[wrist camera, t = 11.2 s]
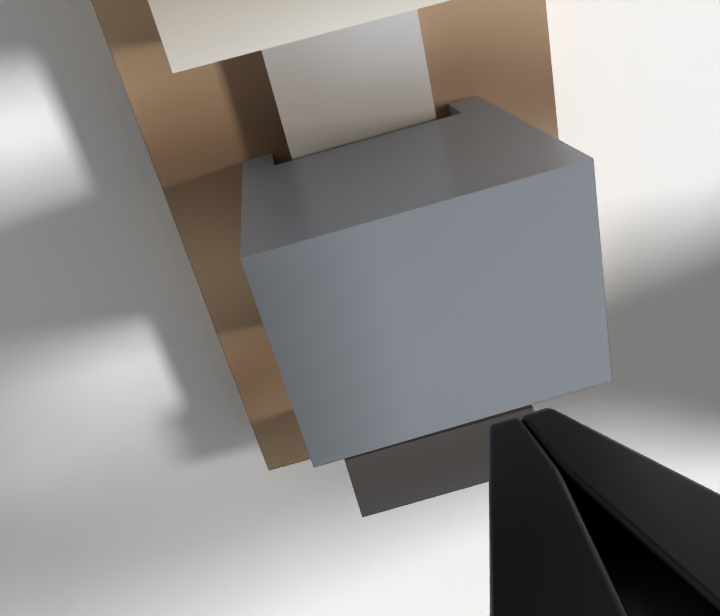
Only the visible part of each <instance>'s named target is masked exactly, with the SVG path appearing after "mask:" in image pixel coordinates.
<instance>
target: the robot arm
mask: <svg viewBox="0 0 720 616" xmlns="http://www.w3.org/2000/svg"><path fill="white" fill-rule="evenodd" d="M489 550H490V616H720V494H718V493H716V492H714V491H712V490H710V489H708V488H706V487H704V486H702V485H700V484H699V483H697V482H695V481H693V480H691V479H689V478H687V477H685V476H683V475H681V474H679V473H677V472H675V471H673V470H671V469H669V468H667V467H665V466H663V465H661V464H659V463H657V462H656V461H654V460H652V459H650V458H648V457H646V456H644V455H642V454H640V453H638V452H636V451H634V450H632V449H630V448H628V447H626V446H624V445H622V444H620V443H618V442H616V441H614V440H612V439H611V438H609V437H607V436H605V435H603V434H601V433H599V432H597V431H595V430H593V429H591V428H589V427H587V426H585V425H583V424H581V423H579V422H577V421H575V420H573V419H571V418H569V417H567V416H566V415H564V414H562V413H560V412H558V411H556V410H554V409H550V408H546V409H542V410H538V411H535V412H531V413H528V414H525V415H523V416H522V417H521V419H519V418H516V417H515V418H510V419H507V420H503V421H500V422H496V423H493V424H491V425H490V427H489Z"/></svg>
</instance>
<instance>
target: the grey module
mask: <svg viewBox="0 0 720 616" xmlns="http://www.w3.org/2000/svg"><path fill="white" fill-rule="evenodd" d="M448 106H449V111H450V116H449V117H446V118H442V119H439V120H435V121H431V122H428V123H424V124H421V125H417V126H414V127H410V128H406V129H403V130H399V131H396V132H392V133H389V134H385V135H381V136H378V137H374V138H371V139H367V140H364V141H360V142H356V143H353V144H349V145H346V146H342V147H339V148H335V149H331V150H328V151H324V152H321V153H317V154H314V155H310V156H307V157H303V158H299V159H296V160H292V161H289V162H285V163H282V164H278V165H275V161H274V158H273V155H272V154H268V155H265V156H261V157H257V158H254V159H250V160H247V161H243V162H242V203H241V244H240V260H241V262H242V265H243V268H244V271H245V274H246V277H247V279H248V282H249V285H250V288H251V291H252V294H253V296H254V299H255V302H256V305H257V308H258V311H259V313H260V316H261V319H262V322H263V325H264V328H265V331H266V333H267V336H268V339H269V342H270V345H271V348H272V350H273V353H274V356H275V359H276V362H277V365H278V367H279V370H280V373H281V376H282V379H283V382H284V384H285V387H286V390H287V393H288V396H289V399H290V401H291V404H292V407H293V410H294V413H295V416H296V418H297V421H298V424H299V427H300V430H301V433H302V435H303V438H304V441H305V444H306V447H307V450H308V453H309V455H310V458H311V461H312V464H313V467H318V466H321V465H324V464H328V463H331V462H335V461H338V460H342V459H345V458H348V457H352V456H355V455H359V454H362V453H366V452H369V451H373V450H376V449H379V448H383V447H386V446H390V445H393V444H397V443H400V442H403V441H407V440H410V439H414V438H417V437H421V436H424V435H427V434H431V433H434V432H438V431H441V430H445V429H448V428H451V427H455V426H458V425H462V424H465V423H469V422H472V421H476V420H479V419H482V418H486V417H489V416H493V415H496V414H500V413H503V412H506V411H510V410H513V409H517V408H520V407H524V406H527V405H530V404H534V403H537V402H541V401H544V400H548V399H551V398H554V397H558V396H561V395H565V394H568V393H572V392H575V391H578V390H582V389H585V388H589V387H592V386H596V385H599V384H603V383H606V382H609V381H612V377H611V365H610V353H609V340H608V328H607V316H606V304H605V292H604V280H603V268H602V256H601V244H600V232H599V220H598V208H597V196H596V184H595V172H594V160H593V158H591V157H590V156H588V155H586V154H584V153H582V152H580V151H578V150H577V149H575V148H573V147H571V146H569V145H567V144H565V143H564V142H562V141H560V140H558V139H556V138H554V137H552V136H551V135H549V134H547V133H545V132H543V131H541V130H540V129H538V128H536V127H534V126H532V125H530V124H528V123H527V122H525V121H523V120H521V119H519V118H517V117H515V116H514V115H512V114H510V113H508V112H506V111H504V110H502V109H501V108H499V107H497V106H495V105H493V104H491V103H489V102H488V101H486V100H484V99H482V98H480V97H478V96H475V97H472V98H468V99H465V100H461V101H458V102H454V103H450V104H448Z"/></svg>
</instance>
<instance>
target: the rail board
mask: <svg viewBox="0 0 720 616" xmlns="http://www.w3.org/2000/svg"><path fill="white" fill-rule="evenodd" d="M91 1H92V3H93V6H94V9H95V11H96V14H97V17H98V19H99V22H100V25H101V27H102V30H103V33H104V35H105V38H106V40H107V43H108V46H109V48H110V51H111V54H112V56H113V59H114V62H115V64H116V67H117V70H118V72H119V75H120V78H121V80H122V83H123V85H124V88H125V91H126V93H127V96H128V99H129V101H130V104H131V107H132V109H133V112H134V115H135V117H136V120H137V123H138V125H139V128H140V131H141V133H142V136H143V138H144V141H145V144H146V146H147V149H148V152H149V154H150V157H151V160H152V162H153V165H154V168H155V170H156V173H157V176H158V178H159V181H160V184H161V186H162V189H163V191H164V194H165V197H166V199H167V202H168V205H169V207H170V210H171V213H172V215H173V218H174V221H175V223H176V226H177V229H178V231H179V234H180V236H181V239H182V242H183V244H184V247H185V250H186V252H187V255H188V258H189V260H190V263H191V266H192V268H193V271H194V274H195V276H196V279H197V282H198V284H199V287H200V289H201V292H202V295H203V297H204V300H205V303H206V305H207V308H208V311H209V313H210V316H211V319H212V321H213V324H214V327H215V329H216V332H217V335H218V337H219V340H220V342H221V345H222V348H223V350H224V353H225V356H226V358H227V361H228V364H229V366H230V369H231V372H232V374H233V377H234V380H235V382H236V385H237V387H238V390H239V393H240V395H241V398H242V401H243V403H244V406H245V409H246V411H247V414H248V417H249V419H250V422H251V425H252V427H253V430H254V433H255V435H256V438H257V440H258V443H259V446H260V448H261V451H262V454H263V456H264V459H265V462H266V464H267V467H268V470H273V469H276V468H280V467H283V466H287V465H290V464H294V463H298V462H301V461H305V460H308V459H311V458H310V455H309V453H308V450H307V447H306V444H305V441H304V438H303V435H302V433H301V430H300V427H299V424H298V421H297V418H296V416H295V413H294V410H293V407H292V404H291V401H290V399H289V396H288V393H287V390H286V387H285V384H284V382H283V379H282V376H281V373H280V370H279V367H278V365H277V362H276V359H275V356H274V353H273V350H272V348H271V345H270V342H269V339H268V336H267V333H266V331H265V328H264V325H263V322H262V319H261V316H260V313H259V311H258V308H257V305H256V302H255V299H254V296H253V294H252V291H251V288H250V285H249V282H248V279H247V277H246V274H245V271H244V268H243V265H242V262H241V260H240V244H241V203H242V162H243V161H247V160H250V159H254V158H257V157H261V156H265V155H268V154H272V155H273V158H274V161H275V165H278V164H282V163H285V162H289V161H292V160H296V159H299V158H303V157H307V156H310V155H314V154H317V153H321V152H324V151H328V150H331V149H335V148H339V147H342V146H346V145H349V144H353V143H356V142H360V141H364V140H367V139H371V138H374V137H378V136H381V135H385V134H389V133H392V132H396V131H399V130H403V129H406V128H410V127H414V126H417V125H421V124H424V123H428V122H431V121H435V120H439V119H442V118H446V117H449V116H450V111H449V106H448V104H450V103H454V102H458V101H461V100H465V99H468V98H472V97H475V96H478V97H480V98H482V99H484V100H486V101H488V102H489V103H491V104H493V105H495V106H497V107H499V108H501V109H502V110H504V111H506V112H508V113H510V114H512V115H514V116H515V117H517V118H519V119H521V120H523V121H525V122H527V123H528V124H530V125H532V126H534V127H536V128H538V129H540V130H541V131H543V132H545V133H547V134H549V135H551V136H552V137H554V138H556V139H558V128H557V118H556V107H555V97H554V86H553V76H552V65H551V54H550V44H549V33H548V23H547V12H546V2H545V0H91ZM558 140H559V139H558ZM531 412H534V411H533V407H532V405H531V404H530V405H527V406H524V407H520V408H517V409H513V410H510V411H506V412H503V413H500V414H496V415H493V416H489V417H486V418H482V419H479V420H476V421H472V422H469V423H465V424H462V425H458V426H455V427H451V428H448V429H445V430H441V431H438V432H434V433H431V434H427V435H424V436H421V437H417V438H414V439H410V440H407V441H403V442H400V443H397V444H393V445H390V446H386V447H383V448H379V449H376V450H373V451H369V452H366V453H362V454H359V455H355V456H352V457H348V458H345V462H346V466H347V469H348V472H349V475H350V479H351V482H352V485H353V488H354V492H355V495H356V498H357V501H358V505H359V508H360V511H361V514H362V517H365V516H369V515H372V514H376V513H379V512H383V511H386V510H390V509H393V508H397V507H400V506H404V505H408V504H411V503H415V502H418V501H422V500H425V499H429V498H432V497H436V496H439V495H443V494H446V493H450V492H453V491H457V490H460V489H464V488H467V487H471V486H474V485H478V484H481V483H485V482H488V481H489V427H490V425H491V424H493V423H496V422H500V421H503V420H507V419H510V418H515V417H516V418H519V419H521V417H522V416H523V415H525V414H528V413H531Z"/></svg>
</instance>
